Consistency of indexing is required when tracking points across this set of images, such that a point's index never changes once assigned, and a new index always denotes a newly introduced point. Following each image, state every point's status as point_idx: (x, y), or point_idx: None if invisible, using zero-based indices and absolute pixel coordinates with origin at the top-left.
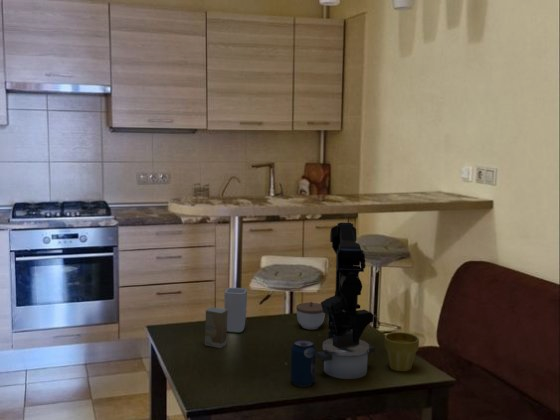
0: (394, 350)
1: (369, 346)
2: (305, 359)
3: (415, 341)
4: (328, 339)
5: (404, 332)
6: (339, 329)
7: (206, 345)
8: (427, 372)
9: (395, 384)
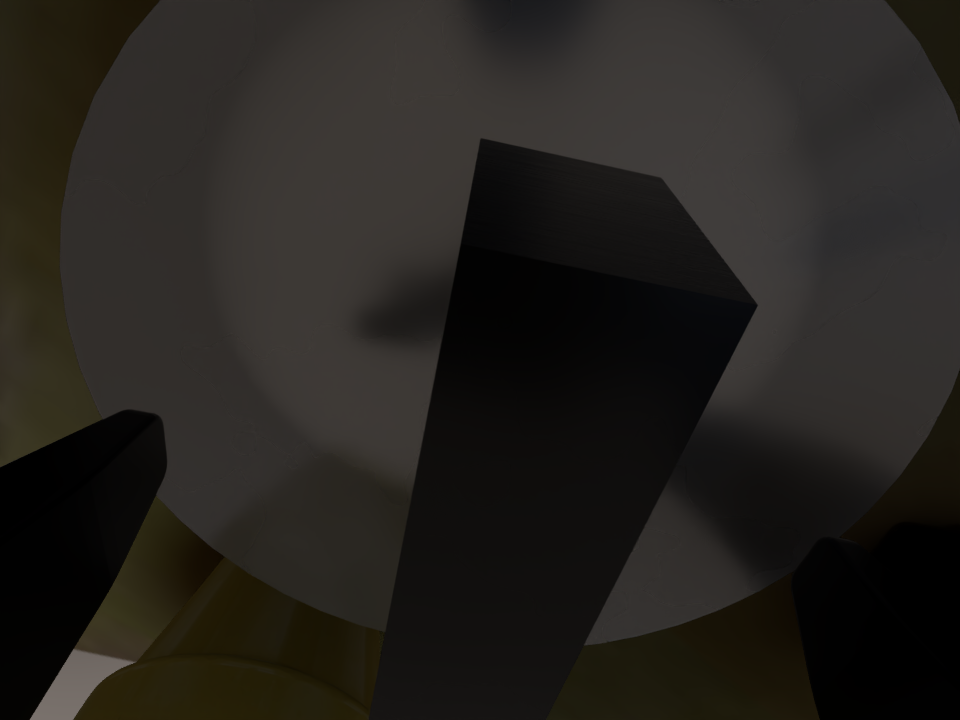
0: (152, 672)
1: None
2: None
3: None
4: (938, 358)
5: None
6: (834, 652)
7: None
8: (155, 623)
9: (15, 347)
